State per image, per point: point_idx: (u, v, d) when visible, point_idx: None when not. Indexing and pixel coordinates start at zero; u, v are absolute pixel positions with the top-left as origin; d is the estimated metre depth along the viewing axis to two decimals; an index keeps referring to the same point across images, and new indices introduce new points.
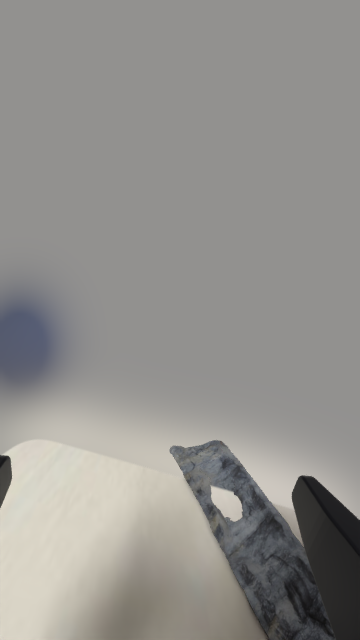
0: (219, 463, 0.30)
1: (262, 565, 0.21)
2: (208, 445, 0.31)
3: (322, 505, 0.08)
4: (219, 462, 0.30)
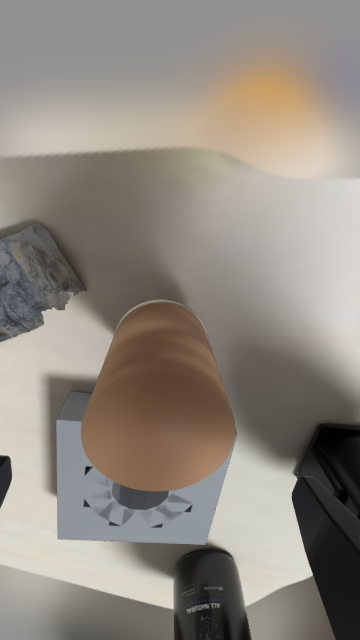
0: None
1: None
2: None
3: (322, 505, 0.08)
4: None
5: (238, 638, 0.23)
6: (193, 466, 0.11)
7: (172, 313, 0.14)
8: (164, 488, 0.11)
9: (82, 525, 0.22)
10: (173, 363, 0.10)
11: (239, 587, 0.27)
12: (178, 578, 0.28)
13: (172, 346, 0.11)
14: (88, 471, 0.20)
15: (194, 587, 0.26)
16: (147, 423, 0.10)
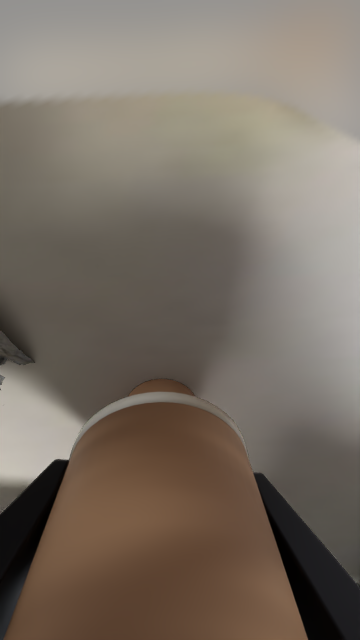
0: None
1: None
2: None
3: (264, 502, 0.08)
4: None
5: None
6: None
7: (185, 446, 0.07)
8: None
9: None
10: None
11: None
12: None
13: None
14: None
15: None
16: None
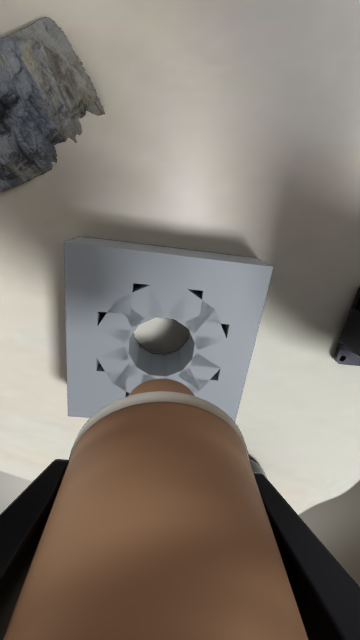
0: None
1: None
2: None
3: (265, 502, 0.08)
4: None
5: None
6: None
7: (185, 446, 0.06)
8: None
9: (96, 397, 0.20)
10: None
11: None
12: None
13: None
14: (101, 320, 0.18)
15: None
16: None
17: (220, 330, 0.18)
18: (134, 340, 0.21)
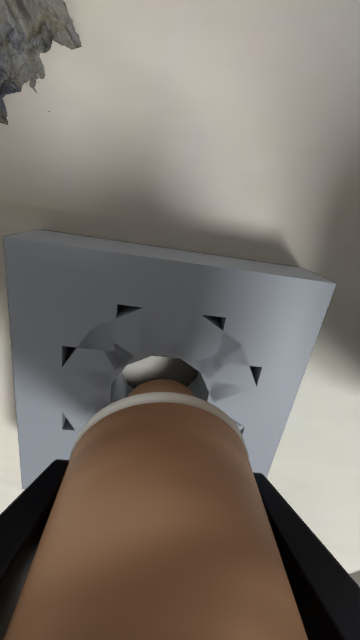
0: None
1: None
2: None
3: (264, 502, 0.08)
4: None
5: None
6: None
7: (185, 447, 0.06)
8: None
9: None
10: None
11: None
12: None
13: None
14: (68, 359, 0.11)
15: None
16: None
17: (248, 375, 0.12)
18: (120, 378, 0.15)
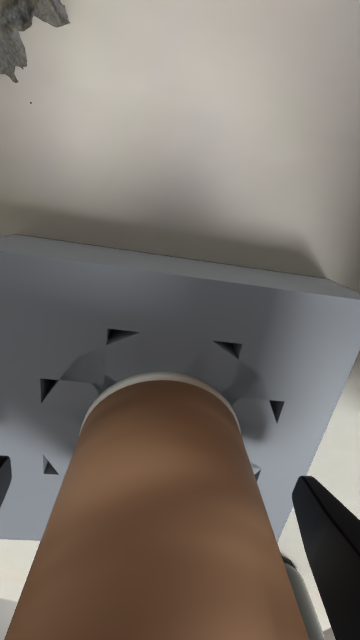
0: None
1: None
2: None
3: (322, 505, 0.08)
4: None
5: None
6: None
7: (182, 414, 0.07)
8: None
9: (45, 511, 0.11)
10: None
11: (317, 619, 0.16)
12: None
13: (192, 585, 0.04)
14: (49, 393, 0.09)
15: None
16: None
17: (267, 410, 0.10)
18: None
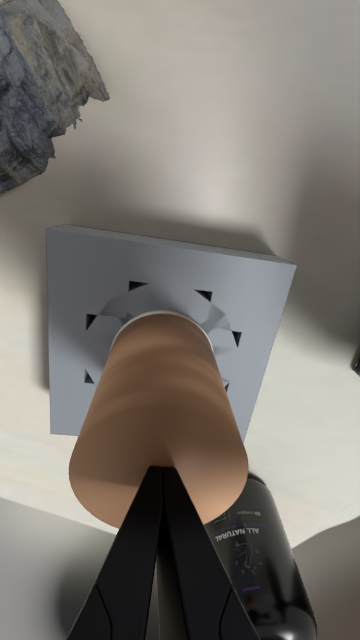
0: None
1: None
2: None
3: (166, 496, 0.08)
4: None
5: (285, 567, 0.18)
6: (199, 507, 0.09)
7: (174, 326, 0.13)
8: None
9: (83, 412, 0.17)
10: (176, 391, 0.08)
11: (279, 516, 0.22)
12: None
13: (175, 369, 0.10)
14: (91, 324, 0.15)
15: (224, 512, 0.21)
16: (146, 461, 0.09)
17: (231, 338, 0.15)
18: None
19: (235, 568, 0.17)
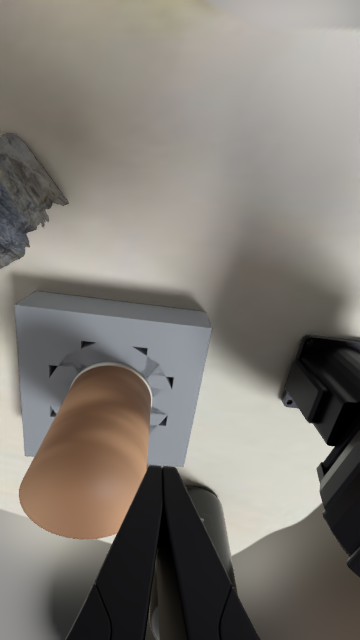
0: None
1: None
2: None
3: (166, 496, 0.08)
4: None
5: None
6: (114, 520, 0.13)
7: (113, 379, 0.17)
8: (93, 536, 0.14)
9: None
10: (91, 443, 0.12)
11: (222, 522, 0.26)
12: None
13: (98, 423, 0.13)
14: (53, 372, 0.19)
15: None
16: (72, 490, 0.12)
17: (165, 382, 0.19)
18: None
19: None
